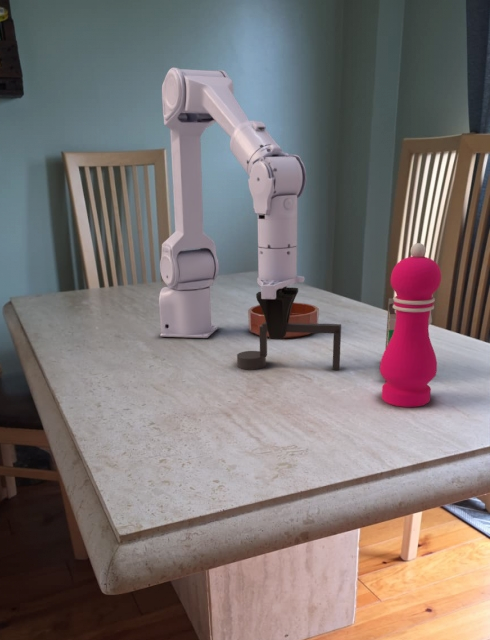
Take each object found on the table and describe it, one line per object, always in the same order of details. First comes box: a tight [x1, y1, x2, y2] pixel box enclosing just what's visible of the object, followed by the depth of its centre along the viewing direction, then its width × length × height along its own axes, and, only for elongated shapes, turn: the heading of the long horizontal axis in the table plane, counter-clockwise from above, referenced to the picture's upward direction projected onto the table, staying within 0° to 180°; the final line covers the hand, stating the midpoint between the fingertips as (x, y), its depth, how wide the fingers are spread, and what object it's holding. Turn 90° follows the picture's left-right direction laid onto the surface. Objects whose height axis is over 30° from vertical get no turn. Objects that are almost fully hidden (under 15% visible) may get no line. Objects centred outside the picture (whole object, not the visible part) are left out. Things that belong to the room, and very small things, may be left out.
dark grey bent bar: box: [236, 322, 342, 371], centre depth 97 cm, size 16×5×7 cm, turn 76°
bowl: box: [247, 302, 319, 339], centre depth 119 cm, size 13×13×4 cm
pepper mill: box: [379, 242, 442, 408], centre depth 79 cm, size 7×7×20 cm
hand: (277, 337), depth 97 cm, fingers closed on dark grey bent bar
